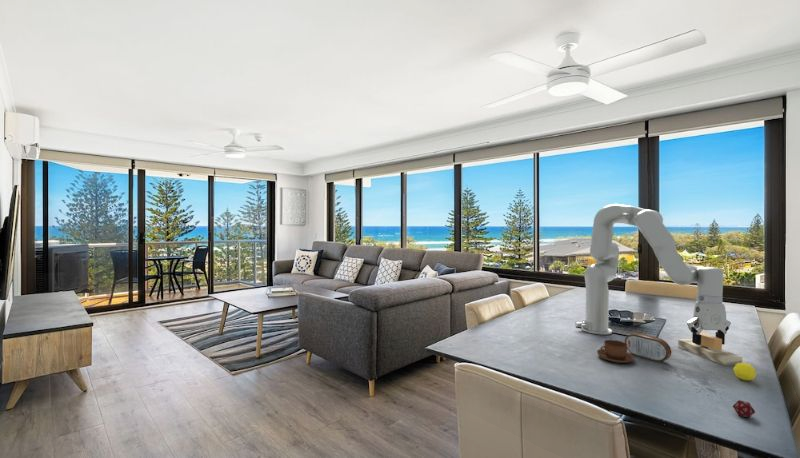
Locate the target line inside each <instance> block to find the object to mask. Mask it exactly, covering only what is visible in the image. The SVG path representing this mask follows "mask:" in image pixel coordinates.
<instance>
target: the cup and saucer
mask: <svg viewBox="0 0 800 458" xmlns="http://www.w3.org/2000/svg"><path fill="white" fill-rule="evenodd" d="M603 342H604V345H602V346H601V347H600V349H598V350H597V351H596V352H597V353H596V354H597V355H598V357H600V358H602V359H603V360H606V361H609V362H613V363H619V364H627V363H632V362H633V361H634V360H635V355H634V354H632V353H630V352H628V350H627V344H626V343H625V341H620V340H616V339H615V340H613V339H610V340H609V339H607V340H605V341H603Z"/></svg>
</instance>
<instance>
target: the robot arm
mask: <svg viewBox="0 0 800 458" xmlns="http://www.w3.org/2000/svg"><path fill="white" fill-rule="evenodd" d="M615 224H625V225H630V226H634V227H637V229H638V230H639V231H640V233H641V234H642V236H643V237H644V239H645V240H646V241H647V242H648V244H649V246H650V247H651V248H652V251H653V254H654V255H655V257H656V259H657V260H658V264H659V265H660V266H661V267H662V269H663V271H664V272H665V274H666V275H667V277H668V278H669V279H670V280H671V281H672V282H673V283H674V284H677V285H679V286H687V285H689V284H697V287H696V291H697V293H696V296H695V300H696V301H695V304H694V309H693V313H692V314H693V315H692V316H693V317H692V318H691V319H689V320H688V321H686V324H687V327H688V330H689V331H690V333H692V335H691V336H692V338H691V339H692V342H693V343H695V344H697V345H701V335H700V333H702V332H703V331H715V337H717V338H720V339H722V346H723V345H725V344H726V343H725V339H726V334H728V332H727V331H728V330H730V326H731V325H732V322H731V321H730V320H728V319H727V312H726V311H727V310H726V306H725V304H724V303H723V298H724V297H723V292H724V290H723V289H724V271H723V269H722V268H719V267H713V266H697V265H693V264H686V262H685V261H684V260H683V259H682V257H681V255H679V252H678V249H677V246H676V239H675V237H674V236H673V235H672V234H671V232H670V231H669V230H668V228H667V227H666V226H665V224H664V218H663V215H662V214H661V213H660V212H659V211H657V210H653V209H647V208H642V207H637V206H633V205H626V204H620V203H613V204H608V205H605V206H604V207H601V208H600V209H599V210H598V211H597V212H596V214H595V216H594V219H593V225H592V233H591V240H590V247H589V254H590V257H591V258H592V259H593V260H595V261H596V263H592V264H590V265H588V266H587V267H586V269H585V271H584V282H585V317H584V318H585V319H583V320H582V321H581V322H580V321H577V322H575V323H574V325H575V327H580V328H581V330H582V331H583V332H586V333H588V334H589V333H590V334H593V335H602V336H603V335H604V336H607V335H611V334H612V333H613V330H612V329H611V328H609V315H610V314H609V312H610V310H609V309H610V308H609V305H610V304H609V303H610V302H609V301H610V297H609V296H610V292H609V285H608V283H609V282H612V281H613V280H615V278H616V275H617V272H618V265H619V259H620V257H619V256H620V249H619V246H618V244H617V243H616V242H614V241H613V239H614V238H613V237H614V225H615Z"/></svg>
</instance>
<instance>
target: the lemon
mask: <svg viewBox="0 0 800 458" xmlns="http://www.w3.org/2000/svg"><path fill="white" fill-rule="evenodd" d="M733 366H734V367H733V373H734V375H735V376H736V377H737V378H739V379H740V380H741V381H751V380H755V377H756V376H757V375H756V373H757V371H756V369H755V367H753V365H751V364H749V363H747V362H742V363H738V364H736V365H733Z"/></svg>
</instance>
